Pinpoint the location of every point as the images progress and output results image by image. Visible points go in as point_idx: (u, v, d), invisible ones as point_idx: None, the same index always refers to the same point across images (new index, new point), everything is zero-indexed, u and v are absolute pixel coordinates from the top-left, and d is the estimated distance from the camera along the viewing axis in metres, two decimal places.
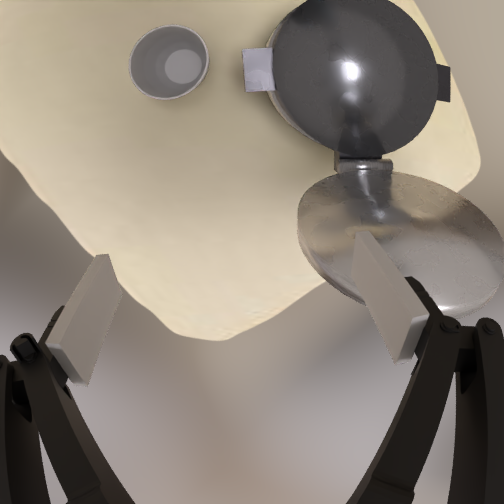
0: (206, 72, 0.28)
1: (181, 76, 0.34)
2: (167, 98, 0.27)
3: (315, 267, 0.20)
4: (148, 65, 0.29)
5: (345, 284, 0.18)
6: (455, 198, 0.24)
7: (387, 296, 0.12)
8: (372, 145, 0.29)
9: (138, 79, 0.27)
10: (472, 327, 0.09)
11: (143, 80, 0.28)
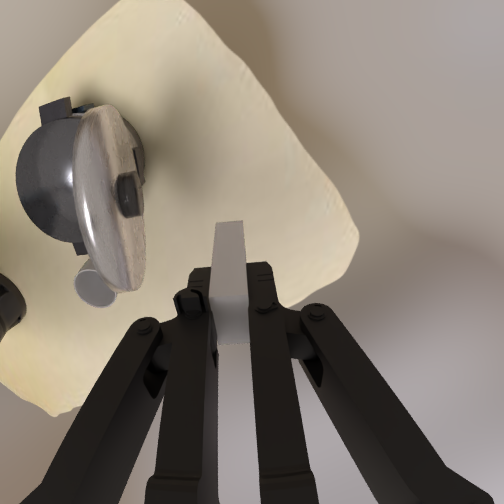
0: None
1: None
2: None
3: None
4: (107, 286, 0.53)
5: (125, 291, 0.26)
6: None
7: None
8: None
9: (109, 300, 0.50)
10: (297, 319, 0.11)
11: (112, 295, 0.51)
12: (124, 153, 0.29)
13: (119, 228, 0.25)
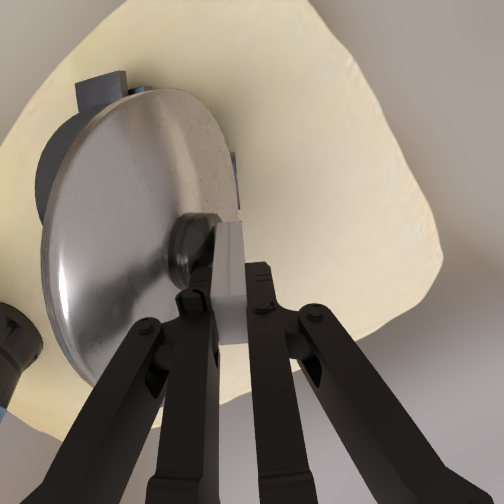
0: None
1: None
2: None
3: None
4: None
5: None
6: None
7: None
8: None
9: None
10: (295, 320, 0.11)
11: None
12: (206, 172, 0.19)
13: None
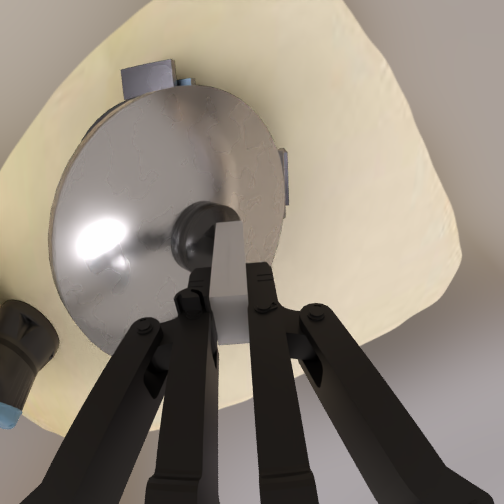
0: None
1: None
2: None
3: None
4: None
5: None
6: None
7: None
8: None
9: None
10: (297, 319, 0.11)
11: None
12: (238, 165, 0.20)
13: (150, 289, 0.17)
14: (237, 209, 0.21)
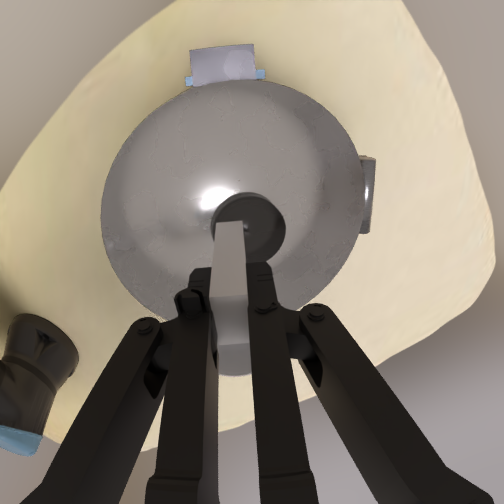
0: None
1: None
2: None
3: None
4: None
5: None
6: None
7: None
8: None
9: (247, 365, 0.37)
10: (297, 319, 0.11)
11: (248, 357, 0.38)
12: (301, 165, 0.19)
13: (183, 257, 0.20)
14: (296, 209, 0.20)
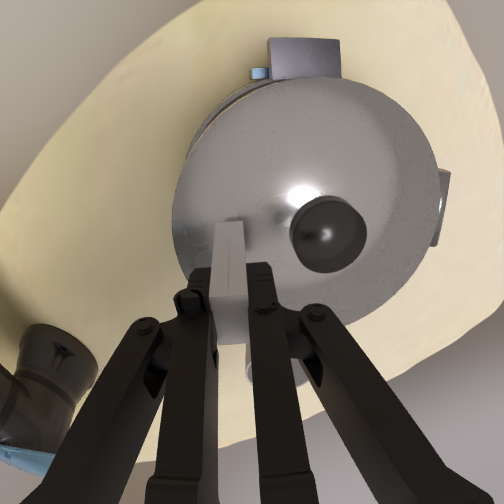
0: None
1: None
2: None
3: None
4: None
5: None
6: None
7: None
8: None
9: None
10: (297, 319, 0.11)
11: None
12: (385, 172, 0.17)
13: (257, 258, 0.19)
14: (375, 217, 0.18)
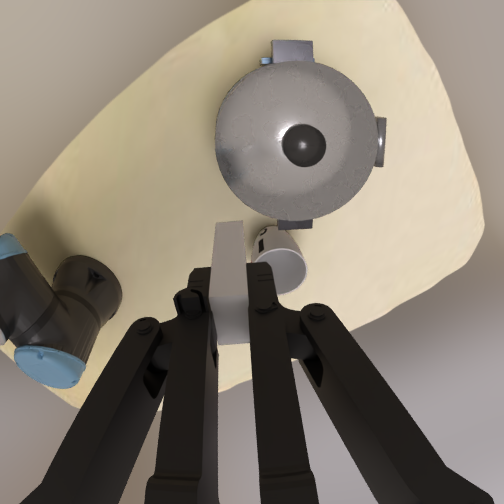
0: (289, 244, 0.44)
1: None
2: (306, 273, 0.44)
3: (274, 217, 0.35)
4: None
5: None
6: None
7: None
8: None
9: (285, 286, 0.47)
10: (297, 319, 0.11)
11: (286, 280, 0.48)
12: (337, 112, 0.29)
13: (262, 159, 0.31)
14: (333, 139, 0.31)
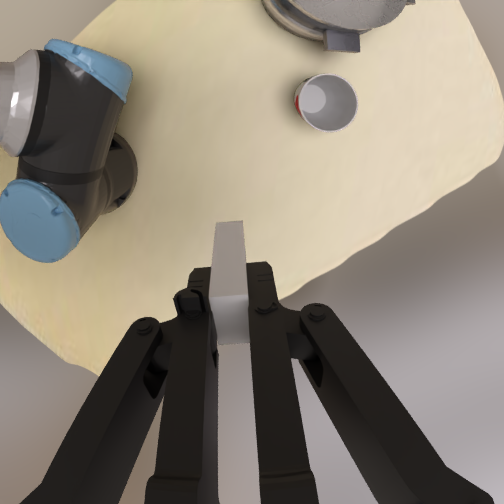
0: (336, 77, 0.36)
1: (319, 101, 0.45)
2: (356, 106, 0.36)
3: (327, 22, 0.27)
4: (316, 122, 0.42)
5: (304, 11, 0.27)
6: None
7: None
8: None
9: (335, 127, 0.39)
10: (297, 319, 0.11)
11: (333, 125, 0.40)
12: None
13: None
14: None
